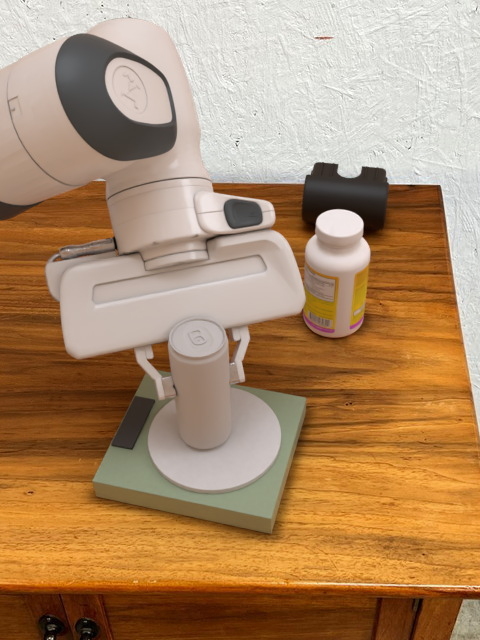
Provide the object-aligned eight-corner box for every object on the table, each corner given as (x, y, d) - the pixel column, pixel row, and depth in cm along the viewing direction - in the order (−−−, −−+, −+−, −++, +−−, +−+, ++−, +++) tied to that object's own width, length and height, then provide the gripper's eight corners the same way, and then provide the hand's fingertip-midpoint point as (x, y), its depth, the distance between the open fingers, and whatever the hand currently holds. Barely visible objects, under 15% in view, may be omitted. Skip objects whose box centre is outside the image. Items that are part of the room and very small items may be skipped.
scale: (96, 496, 69) (90, 476, 66) (150, 384, 78) (147, 363, 76) (271, 534, 66) (271, 514, 64) (305, 413, 76) (306, 393, 73)
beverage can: (189, 459, 68) (178, 365, 59) (171, 420, 71) (158, 325, 62) (240, 442, 69) (237, 347, 60) (220, 405, 72) (215, 309, 63)
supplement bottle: (355, 296, 88) (365, 200, 78) (369, 336, 83) (382, 239, 74) (297, 303, 87) (300, 206, 78) (308, 343, 82) (313, 245, 73)
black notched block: (300, 235, 96) (302, 188, 91) (308, 203, 100) (310, 156, 96) (381, 244, 95) (387, 196, 90) (385, 211, 99) (391, 164, 95)
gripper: (36, 244, 59) (75, 420, 60) (291, 200, 63) (325, 365, 64) (42, 256, 65) (78, 416, 66) (274, 215, 70) (306, 366, 70)
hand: (202, 390), depth 65 cm, fingers closed on beverage can, 4 cm apart
